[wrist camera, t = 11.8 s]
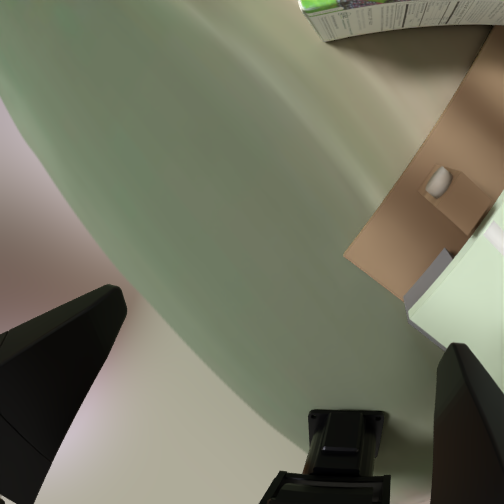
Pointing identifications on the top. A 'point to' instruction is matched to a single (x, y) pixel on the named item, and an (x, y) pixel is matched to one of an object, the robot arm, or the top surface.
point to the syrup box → (395, 15)
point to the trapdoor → (466, 296)
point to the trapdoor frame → (442, 181)
